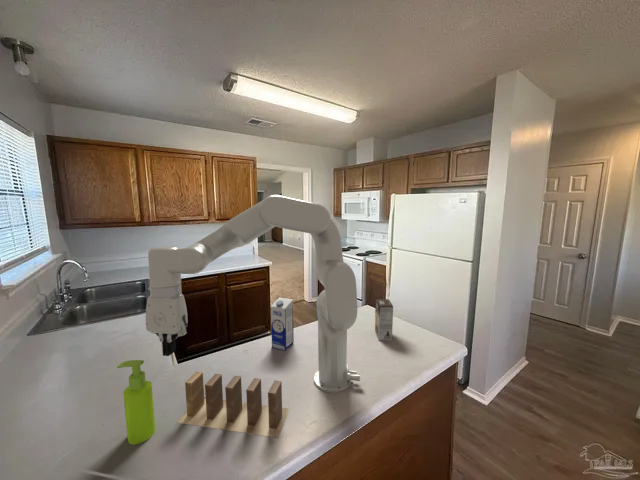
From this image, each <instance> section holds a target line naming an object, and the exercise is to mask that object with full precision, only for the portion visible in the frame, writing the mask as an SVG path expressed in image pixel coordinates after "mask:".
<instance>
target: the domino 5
mask: <svg viewBox="0 0 640 480" xmlns="http://www.w3.org/2000/svg"><path fill="white" fill-rule="evenodd" d="M282 385H283V383H282V380H273V383H272V384H271V387H270V388H269V389H268V392H267V402H268V405H267V406H268V411H269V428H274V429H276V428H277V426H278V423H279V421H280V419H281V416H282V408H283V394H282V391H283V390H282V388H283V387H282Z"/></svg>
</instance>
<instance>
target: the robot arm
mask: <svg viewBox="0 0 640 480" xmlns="http://www.w3.org/2000/svg"><path fill="white" fill-rule="evenodd" d="M276 227H277V228H281V229H284V230H289V231H294V232H301V233H304V234H305V233H306V234H310V236H311V237H312V239H313V243H314V244H313V245H314V249H315V250H314V251H315V260H316V261H315V262H316V277H317V280H318V281H319V283H320V284H322V286H323V287H324V289H323V290H322V291H321V292H320V293H319V294H318V297H317V298H316V315H317V316H316V317H317V327H318V328H317V335H318V338H317V342H318V344H317V345H318V347H317V348H318V349H317V350H318V351H317V352H318V355H317V357H318V362H317V363H318V366H317V367H318V370H317V371H316V372H315V374H314V376H313V383H314V385H315V387H317V389H319V390H321V391H323V392H326V393H331V394H332V393H334V394H335V393H341V392H344V391H346V390H347V389H348V388H350V386H351V384H352V381H355V382H361V374H357V373H358V370H353V369H352V370H351V369H350V368H349V365H348V363H347V362H348V361H347V360H348V357H347V356H348V343H347V342H348V330H350V329H351V328H352V327H353V326H354V324H355V323H356V321H357V317H358V294H357V293H358V292H357V279H356V275H355V273H354V270H353V268H352V267H351V266H350V265H349V264H348V263H346V262H344V255H343V247H342V245H343V244H342V241H341V240H342V238H341V235H340V231H339V228H338V227H337V225H336V223H335V222H334V221H333V219H332V218H331V214H330V212H329V210H328V209H327V208H326V207H325V206H323V205H322V204H319V203H316V202H310V201H306V200H301V199H296V198H291V197H287V196H283V195H279V194H273V195H272V194H271V195H269V196H267V197H265V198H264V199H262V200H261V201H259V202H258V203H255V204H254V205H252V206H250V207H249V208H247V209H246V210H244V211H242V212H241V213H239V214H237V215H236V216H234V217H232V218H230V219H229V220H228V221H226V222H225V223H224V224H223V225H222V226H220V227H219V228H218V229H217V230H215V231H213V232H211V233H210V234H209V235H207V236H205V237H203V238H202V239H200V240H198V241H196V242H195V243H193V244H190V245H189V246H186V247H183V248H178V247H176V246H173V245H172V246H171V245H165V246H164V245H163V246H157V247H156V246H155V247H152V248H150V249H149V250H148V252H147V254H148V255H147V258H148V274H149V275H148V276H149V279H148V280H149V286H148V288H147V290H148V291H149V293H150V295H149V296H148V297H147V301H146V308H145V328H146V329H145V330H146V331H147V332H150V333H151V334H155V335H156V336H157V337H158V339H159V342H160V343H161V348H162V349H161V350H162V356H164V357H169V356H171V355H172V354H174V353H176V349H177V345H176V339H178V338H179V337H183V336H185V335H186V334H187V333H188V332H187V327H188V321H189V320H188V310H187V309H188V308H187V304H186V299H185V296H184V294H183V293H182V290H183V289H182V274H184V275H196V274H199V273H201V272H203V271H204V270H205V269H206V268H207V266H208V265H209V264H210V263H212V262H214V261H215V260H217V259H218V258H220V257H221V256H223V255H225V254H227V253H228V252H230V251H232V250H234V249H237V248H240V247H241V248H242V247H244V246H246V245H248V244H251V243H252V242H253V241H254V240H256V239H258V238H259V237H261V236H263V235H264V234H266V233H267V232H269V231H271V230H272V229H274V228H276Z"/></svg>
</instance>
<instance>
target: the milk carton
mask: <svg viewBox="0 0 640 480" xmlns="http://www.w3.org/2000/svg"><path fill="white" fill-rule="evenodd" d="M270 318H271V320H270V323H271V324H270V325H271V348H273V349H277V350H282V351H284V352H285V351H287V350H288V349H290V348H291V346H293V345H294V344H293V343H295V342H294V334H295V333H294V299H292V298H287V297H281V296H279V297H278V298H277V299H276V300H275V301H274V302H273V303H272V304H271V305H270Z"/></svg>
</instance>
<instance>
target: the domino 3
mask: <svg viewBox="0 0 640 480" xmlns="http://www.w3.org/2000/svg"><path fill="white" fill-rule="evenodd" d="M224 388H225V400H226V413H227V422H232V423H234V422H235V420H236V418H237V417H238V415H239V414H240V412H241V410H242V402H243V393H242V392H243V390H242V389H243V388H242V376H240V375H239V376H238V375H234V376H233V377H232V378H231V379H230V381H229V382H228V383H227V385H225V387H224Z"/></svg>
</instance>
